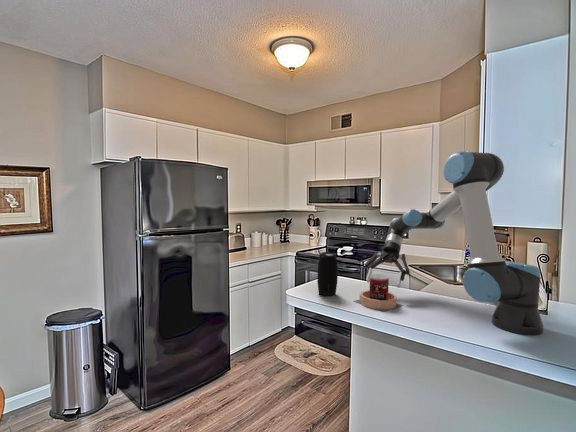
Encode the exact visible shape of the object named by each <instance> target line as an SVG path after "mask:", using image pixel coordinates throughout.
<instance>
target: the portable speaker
mask: <svg viewBox="0 0 576 432" xmlns="http://www.w3.org/2000/svg"><path fill="white" fill-rule="evenodd" d="M318 255H319V256H318V262H317V281H316V282H317V289H318V291H317V292H318V295H322V297H328V298H329V297H330V298H331V297H333V296H334V295H336V293H337V287H338V274H339V273H338V271H339V270H338V268H339V266H338V258H337V256H338V255H337V253H332V252H330V251H323V252H320V254H318Z"/></svg>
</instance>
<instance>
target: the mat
mask: <svg viewBox="0 0 576 432" xmlns="http://www.w3.org/2000/svg"><path fill="white" fill-rule="evenodd" d="M352 302H353V303H356V304H359V305H361V306H363V305H362V304H361V303H360V299H357V300H353V301H352ZM400 307H401V308H402V307H404V305H403V304H401V303H398V302H397V305H396V308H392V309H382V310H380V309H375V310H377V311H379V312H381V313H385V312H388V311H392V310H394V309H397V308H400Z"/></svg>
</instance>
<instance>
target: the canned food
mask: <svg viewBox="0 0 576 432" xmlns="http://www.w3.org/2000/svg"><path fill="white" fill-rule="evenodd" d="M389 281H390V279H389V276H388V275H384V274H371V276H370V281H369V290H370V292H369V298H370V299H375V300H388V292H389V283H390V282H389Z"/></svg>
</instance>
